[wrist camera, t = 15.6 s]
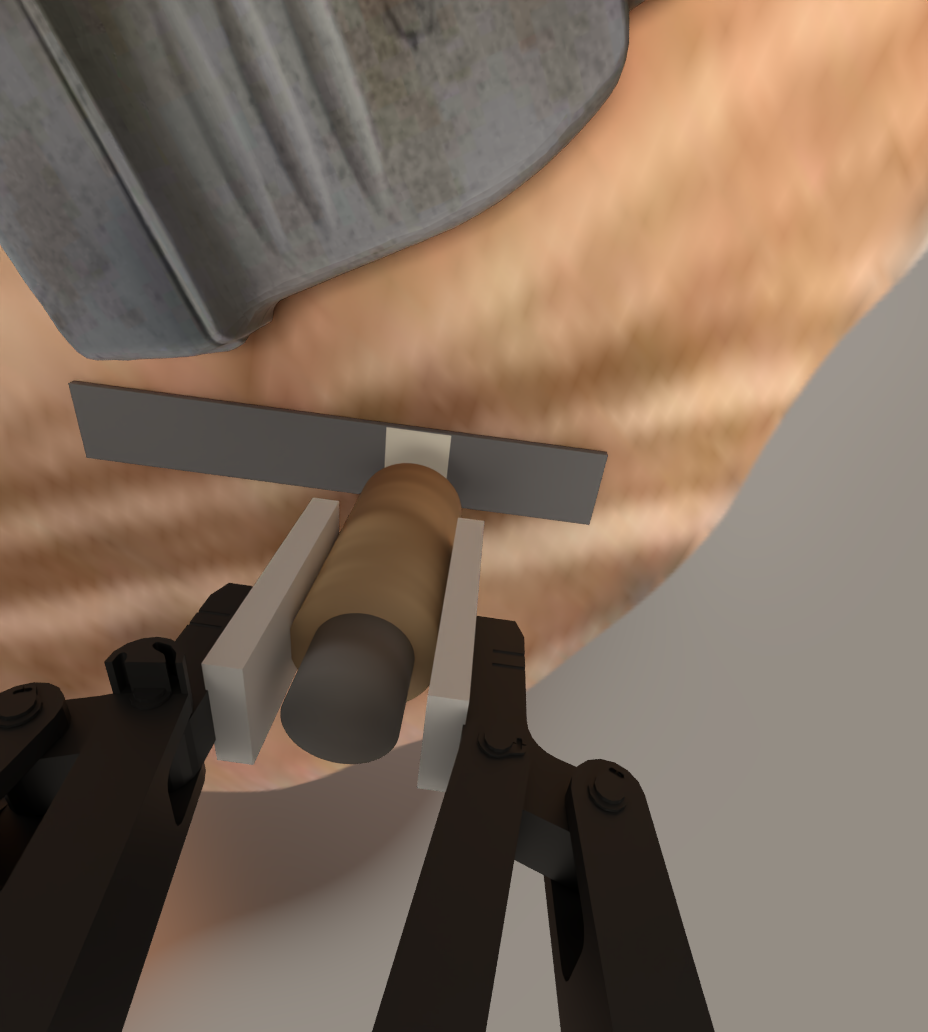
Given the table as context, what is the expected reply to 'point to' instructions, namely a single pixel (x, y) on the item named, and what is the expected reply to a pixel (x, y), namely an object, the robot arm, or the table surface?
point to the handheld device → (267, 145)
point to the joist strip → (332, 450)
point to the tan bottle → (373, 617)
